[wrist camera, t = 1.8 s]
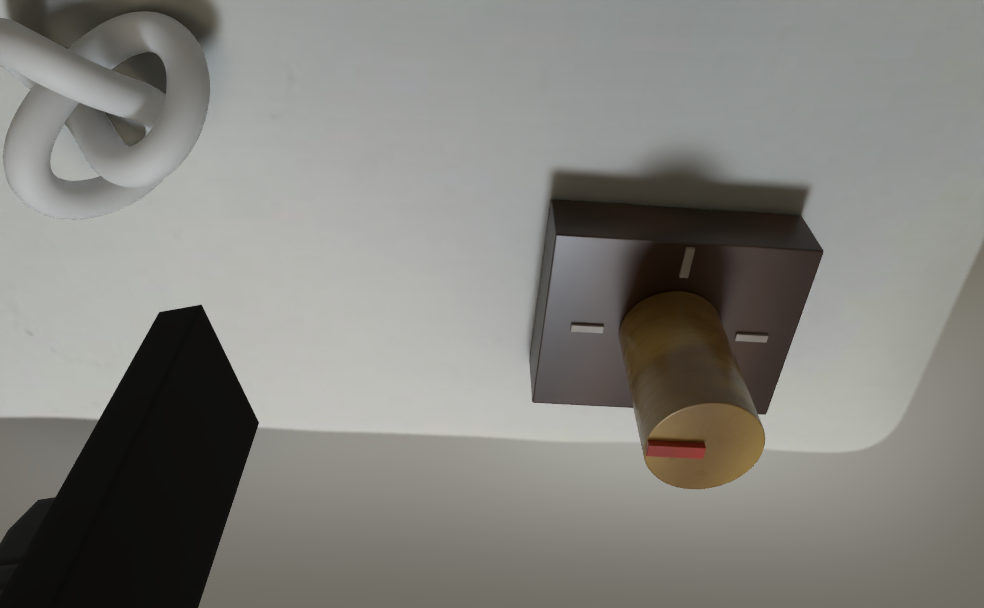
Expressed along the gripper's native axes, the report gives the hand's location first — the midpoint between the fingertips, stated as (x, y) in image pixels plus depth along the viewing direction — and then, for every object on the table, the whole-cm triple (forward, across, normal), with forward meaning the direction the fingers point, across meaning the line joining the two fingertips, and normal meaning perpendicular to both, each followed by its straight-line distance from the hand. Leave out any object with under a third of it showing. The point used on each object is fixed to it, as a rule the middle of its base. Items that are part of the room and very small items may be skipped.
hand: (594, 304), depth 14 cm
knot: (+21, +16, 0) cm, 26 cm away
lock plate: (+21, -3, +15) cm, 26 cm away
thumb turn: (+18, -3, +15) cm, 23 cm away
